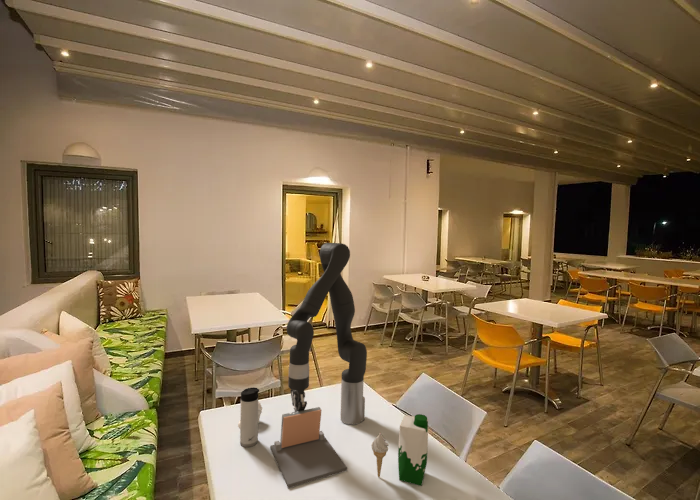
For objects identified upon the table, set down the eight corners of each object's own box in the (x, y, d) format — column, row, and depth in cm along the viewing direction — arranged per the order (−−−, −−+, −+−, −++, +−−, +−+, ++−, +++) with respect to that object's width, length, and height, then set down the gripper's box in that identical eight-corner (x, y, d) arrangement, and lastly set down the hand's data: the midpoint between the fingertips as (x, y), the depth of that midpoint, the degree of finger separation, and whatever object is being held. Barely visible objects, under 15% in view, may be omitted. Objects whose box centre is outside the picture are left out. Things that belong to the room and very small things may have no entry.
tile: (316, 435, 136) (319, 406, 134) (318, 439, 135) (321, 410, 132) (280, 444, 130) (282, 414, 128) (281, 448, 128) (283, 418, 126)
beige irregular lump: (263, 399, 150) (246, 415, 139) (264, 418, 151) (247, 436, 140) (249, 396, 152) (232, 413, 140) (250, 415, 153) (233, 433, 142)
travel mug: (253, 448, 131) (254, 394, 130) (236, 446, 132) (237, 392, 131) (261, 439, 137) (262, 386, 136) (245, 436, 138) (245, 384, 137)
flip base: (322, 436, 140) (322, 427, 139) (347, 470, 120) (347, 460, 120) (270, 448, 131) (270, 439, 131) (288, 488, 111) (288, 477, 111)
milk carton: (424, 488, 112) (426, 425, 111) (395, 481, 115) (397, 419, 114) (427, 471, 121) (430, 412, 120) (400, 464, 124) (402, 407, 123)
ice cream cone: (369, 471, 120) (370, 427, 119) (386, 471, 120) (387, 426, 119) (371, 483, 114) (373, 436, 113) (389, 482, 115) (390, 436, 114)
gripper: (314, 379, 129) (313, 427, 130) (303, 366, 141) (302, 410, 142) (294, 382, 126) (293, 431, 127) (284, 369, 138) (283, 413, 139)
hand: (297, 420), depth 134 cm, fingers closed
